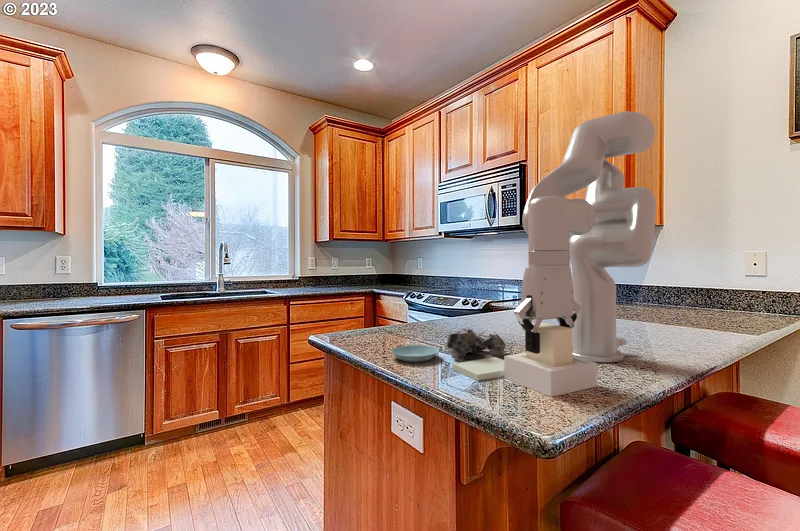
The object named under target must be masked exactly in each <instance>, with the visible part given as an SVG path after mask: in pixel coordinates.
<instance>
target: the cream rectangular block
mask: <svg viewBox="0 0 800 531" xmlns="http://www.w3.org/2000/svg"><path fill="white" fill-rule="evenodd" d="M537 332H539V333H540V353H538V354H535V353H532V352H529V351H526V350H525V353H526V358H528V359H531V360H534V361H537V362H540V363H543V364H546V365H549V366H553V367H560V366H565V365H571V364H573V328H568V327H563V326H560V325H557V324H551V323H547V322H541V324H540V326H539V328H538V331H537Z"/></svg>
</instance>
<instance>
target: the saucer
mask: <svg viewBox="0 0 800 531" xmlns="http://www.w3.org/2000/svg"><path fill="white" fill-rule="evenodd" d="M390 352H391V353H392V355H394V356H395V357H396V358H398V359H399V360H400V361H403V362H407V363H423V362H427V361H429V360H432V359H433V358H434V357H435V356H437V354H438V353H439V352H440V350H439V348H438V347H434V346H431V345H424V344H423V345H422V344H421V345H419V344H418V345H417V344H411V345H410V344H409V345H402V346H397V347H394V348H391V350H390Z"/></svg>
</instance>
